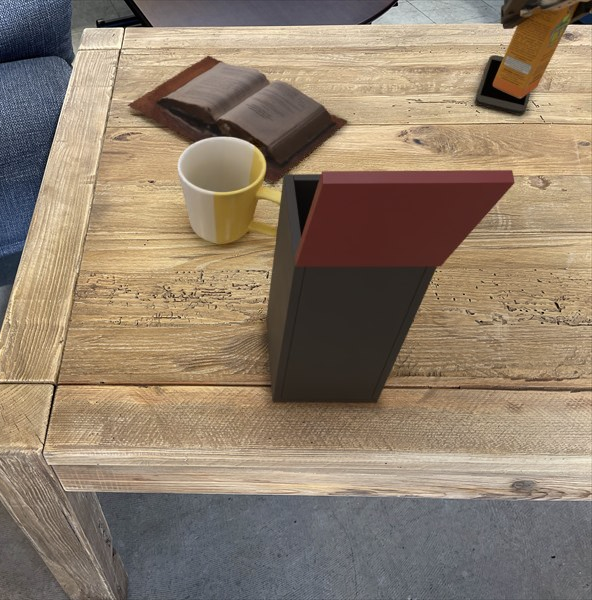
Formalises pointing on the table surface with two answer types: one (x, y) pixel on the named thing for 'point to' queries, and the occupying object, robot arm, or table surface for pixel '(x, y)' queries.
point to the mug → (224, 188)
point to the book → (241, 111)
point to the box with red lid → (333, 315)
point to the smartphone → (498, 91)
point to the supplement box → (532, 51)
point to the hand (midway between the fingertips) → (533, 16)
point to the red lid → (396, 216)
